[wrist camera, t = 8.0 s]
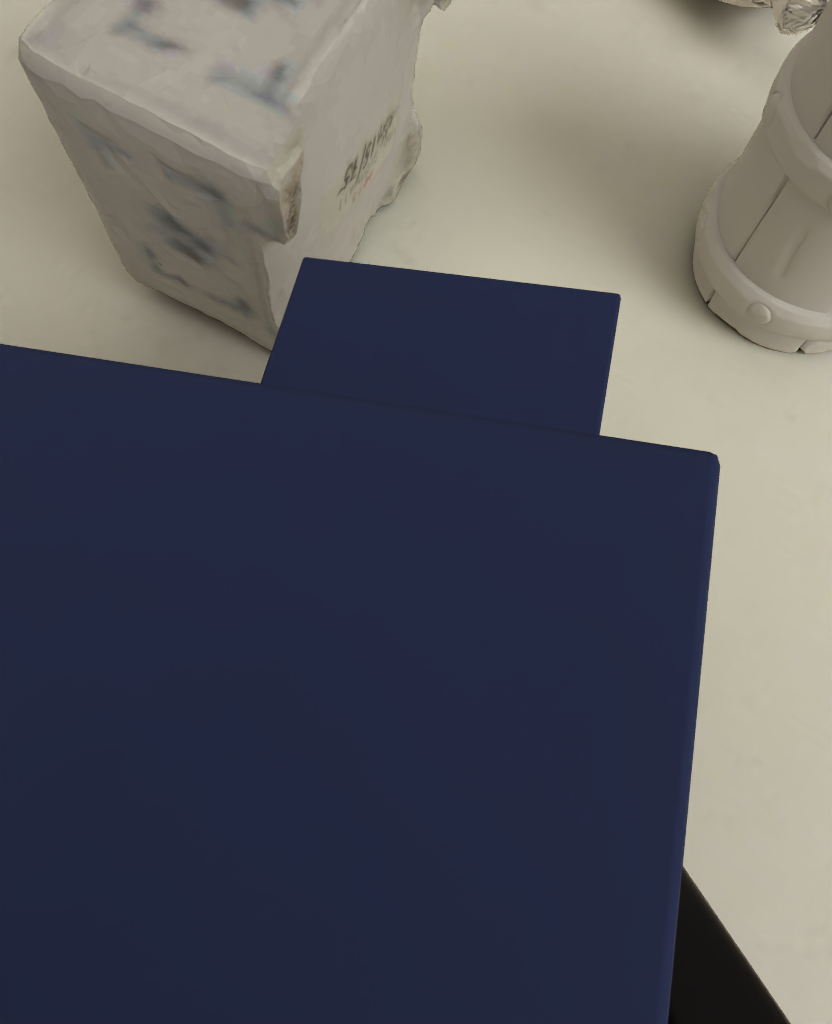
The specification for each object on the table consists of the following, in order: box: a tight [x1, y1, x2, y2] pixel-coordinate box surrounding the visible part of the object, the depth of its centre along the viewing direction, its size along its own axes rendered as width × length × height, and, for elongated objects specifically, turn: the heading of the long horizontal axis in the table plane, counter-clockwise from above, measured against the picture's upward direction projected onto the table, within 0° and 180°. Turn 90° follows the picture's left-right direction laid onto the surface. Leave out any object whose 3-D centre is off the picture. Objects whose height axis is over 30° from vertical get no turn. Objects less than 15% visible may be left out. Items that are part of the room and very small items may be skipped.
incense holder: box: [19, 0, 451, 351], centre depth 22 cm, size 10×8×10 cm
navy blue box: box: [0, 257, 720, 1024], centre depth 10 cm, size 13×6×13 cm, turn 167°
